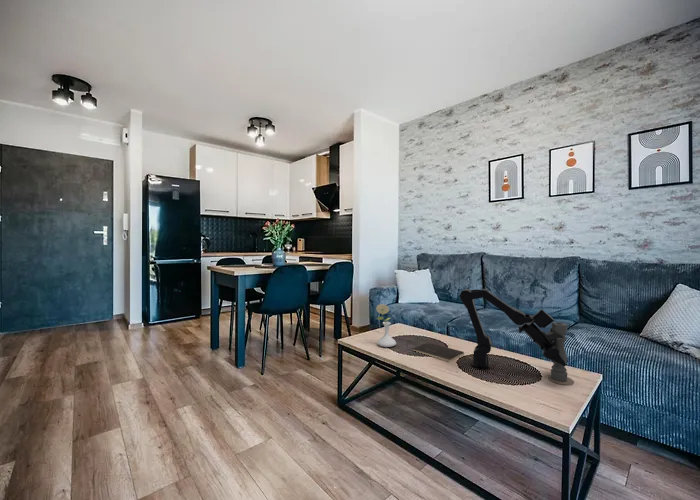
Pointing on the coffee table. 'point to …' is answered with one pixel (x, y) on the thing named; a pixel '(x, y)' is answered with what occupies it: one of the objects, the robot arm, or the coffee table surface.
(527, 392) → the coffee table surface
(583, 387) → the coffee table surface
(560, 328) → the candle holder
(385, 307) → the flower in vase
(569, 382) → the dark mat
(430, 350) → the hardcover book
